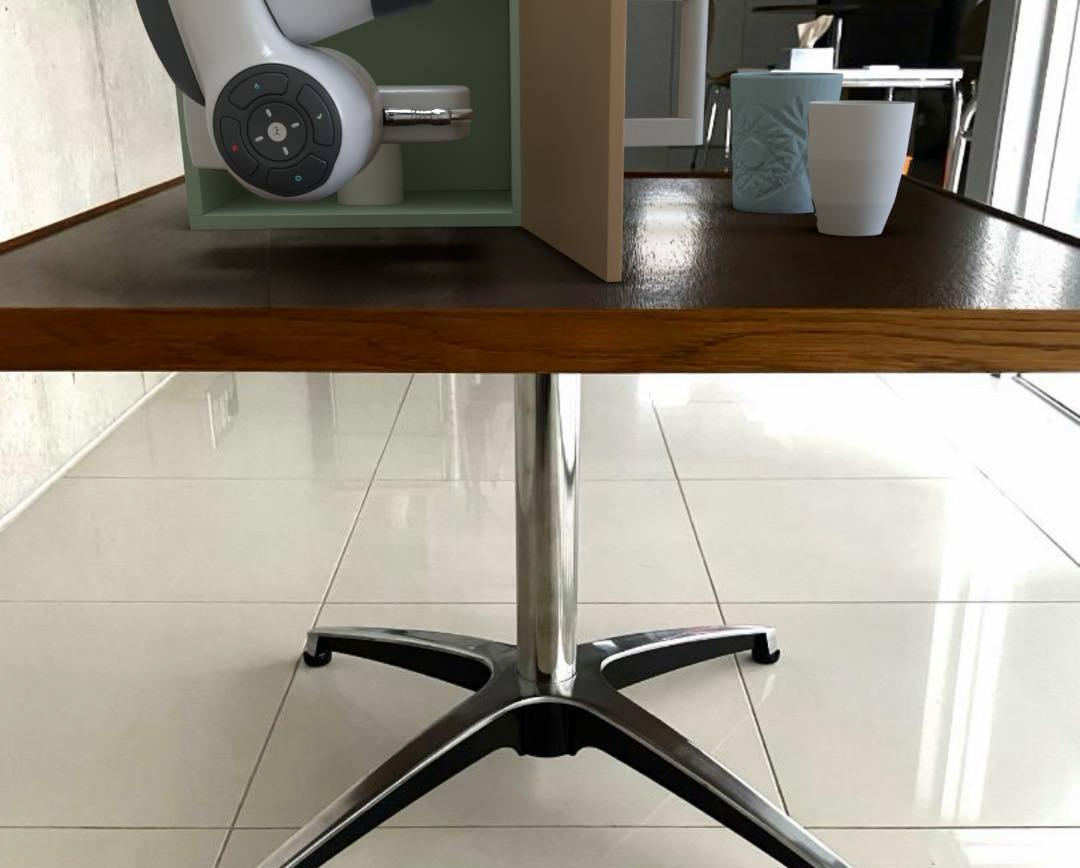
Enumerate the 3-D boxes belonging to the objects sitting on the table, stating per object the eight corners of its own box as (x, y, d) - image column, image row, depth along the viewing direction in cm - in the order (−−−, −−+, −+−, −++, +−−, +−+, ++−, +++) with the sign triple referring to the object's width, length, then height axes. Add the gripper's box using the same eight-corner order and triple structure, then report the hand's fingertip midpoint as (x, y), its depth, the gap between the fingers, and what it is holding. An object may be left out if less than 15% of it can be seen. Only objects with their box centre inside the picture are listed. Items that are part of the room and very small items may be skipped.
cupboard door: (599, 224, 104) (603, -121, 95) (708, 278, 78) (730, -189, 69) (521, 226, 103) (517, -123, 93) (606, 282, 77) (613, -193, 67)
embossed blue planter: (821, 202, 120) (831, 71, 116) (842, 214, 111) (855, 73, 106) (718, 202, 120) (724, 72, 116) (730, 215, 111) (738, 73, 106)
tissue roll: (358, 207, 107) (351, 85, 104) (326, 201, 112) (318, 84, 108) (416, 202, 111) (411, 84, 107) (382, 197, 115) (376, 83, 112)
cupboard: (526, 227, 104) (523, -124, 94) (190, 230, 103) (152, -124, 93) (522, 201, 122) (519, -94, 113) (237, 203, 122) (210, -93, 112)
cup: (848, 223, 105) (858, 99, 101) (922, 233, 99) (937, 102, 95) (778, 230, 101) (787, 102, 97) (852, 241, 95) (864, 104, 91)
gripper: (472, 66, 80) (475, 65, 93) (158, 67, 80) (205, 66, 92) (474, 166, 82) (477, 151, 95) (169, 168, 82) (213, 153, 95)
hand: (341, 109), depth 94 cm, fingers open, 8 cm apart
